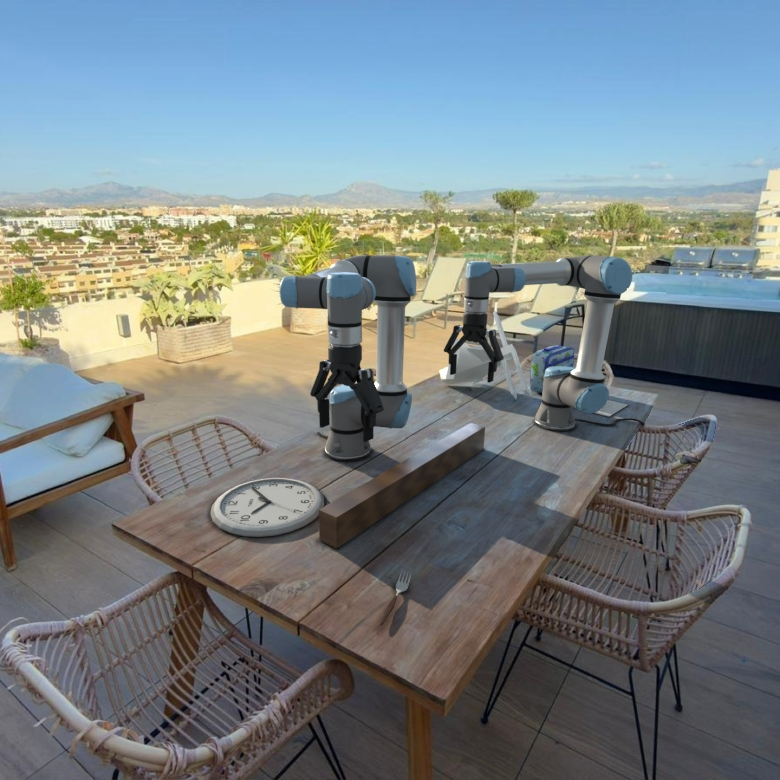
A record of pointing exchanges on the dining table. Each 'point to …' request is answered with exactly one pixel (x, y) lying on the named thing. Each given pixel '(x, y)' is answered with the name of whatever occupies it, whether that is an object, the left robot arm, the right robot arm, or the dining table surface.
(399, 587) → the fork
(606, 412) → the invitation card
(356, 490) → the post
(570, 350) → the lunch box
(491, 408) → the dining table surface
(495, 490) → the dining table surface
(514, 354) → the white plastic object
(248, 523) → the wall clock
